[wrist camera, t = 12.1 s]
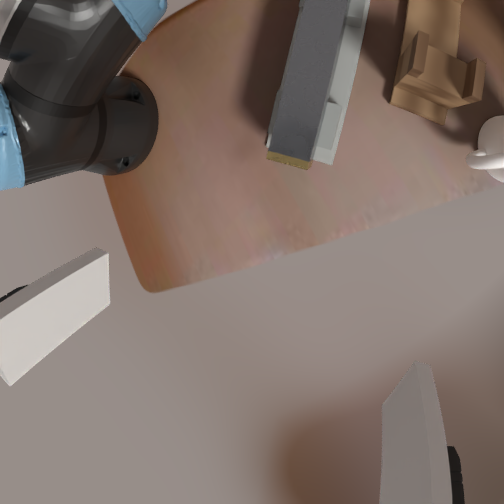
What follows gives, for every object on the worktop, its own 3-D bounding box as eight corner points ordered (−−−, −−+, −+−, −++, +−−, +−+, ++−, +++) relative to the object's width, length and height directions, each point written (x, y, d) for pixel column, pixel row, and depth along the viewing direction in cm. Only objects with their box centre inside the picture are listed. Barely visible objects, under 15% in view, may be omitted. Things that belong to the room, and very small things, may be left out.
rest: (266, 146, 34) (259, 147, 31) (308, -23, 24) (304, -36, 21) (332, 165, 33) (331, 167, 30) (371, -10, 23) (373, -22, 20)
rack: (389, 103, 28) (408, 88, 19) (411, -41, 18) (424, -82, 9) (441, 125, 27) (477, 120, 18) (458, -22, 17) (482, -56, 8)
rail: (311, 166, 30) (307, 170, 27) (275, 156, 31) (266, 158, 27) (356, -30, 20) (356, -47, 16) (322, -36, 20) (318, -54, 17)
